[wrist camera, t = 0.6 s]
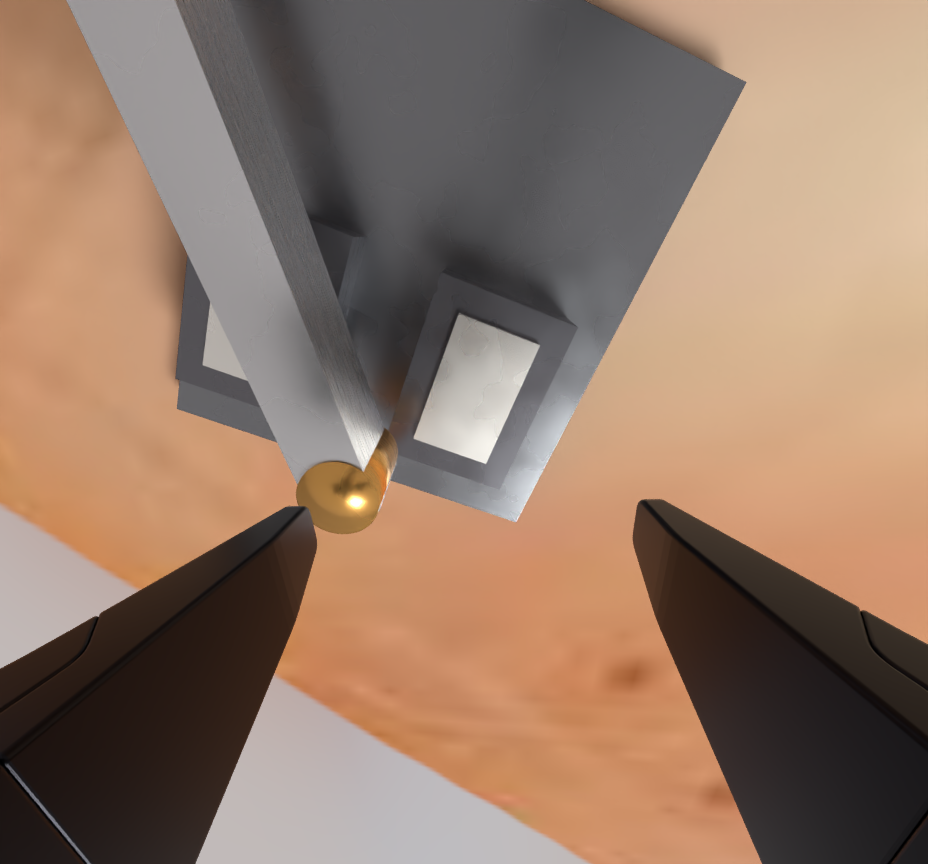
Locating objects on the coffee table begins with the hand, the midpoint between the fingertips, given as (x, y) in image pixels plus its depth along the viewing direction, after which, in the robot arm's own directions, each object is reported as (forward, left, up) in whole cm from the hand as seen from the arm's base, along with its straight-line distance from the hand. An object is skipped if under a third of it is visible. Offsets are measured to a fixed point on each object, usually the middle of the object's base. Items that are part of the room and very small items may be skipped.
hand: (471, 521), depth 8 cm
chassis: (-3, -4, -11) cm, 12 cm away
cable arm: (-3, -7, -7) cm, 10 cm away
